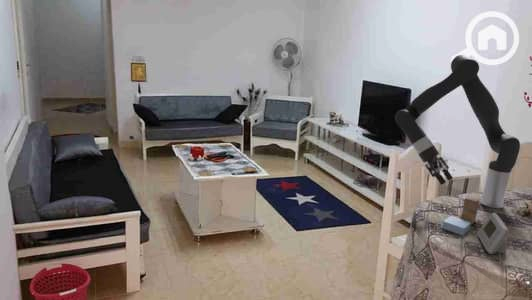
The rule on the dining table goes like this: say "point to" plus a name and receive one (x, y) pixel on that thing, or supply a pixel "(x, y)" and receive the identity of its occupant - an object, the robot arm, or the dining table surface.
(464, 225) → the pedestal
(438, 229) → the dining table surface
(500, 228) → the digital clock
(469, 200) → the walnut pillar
